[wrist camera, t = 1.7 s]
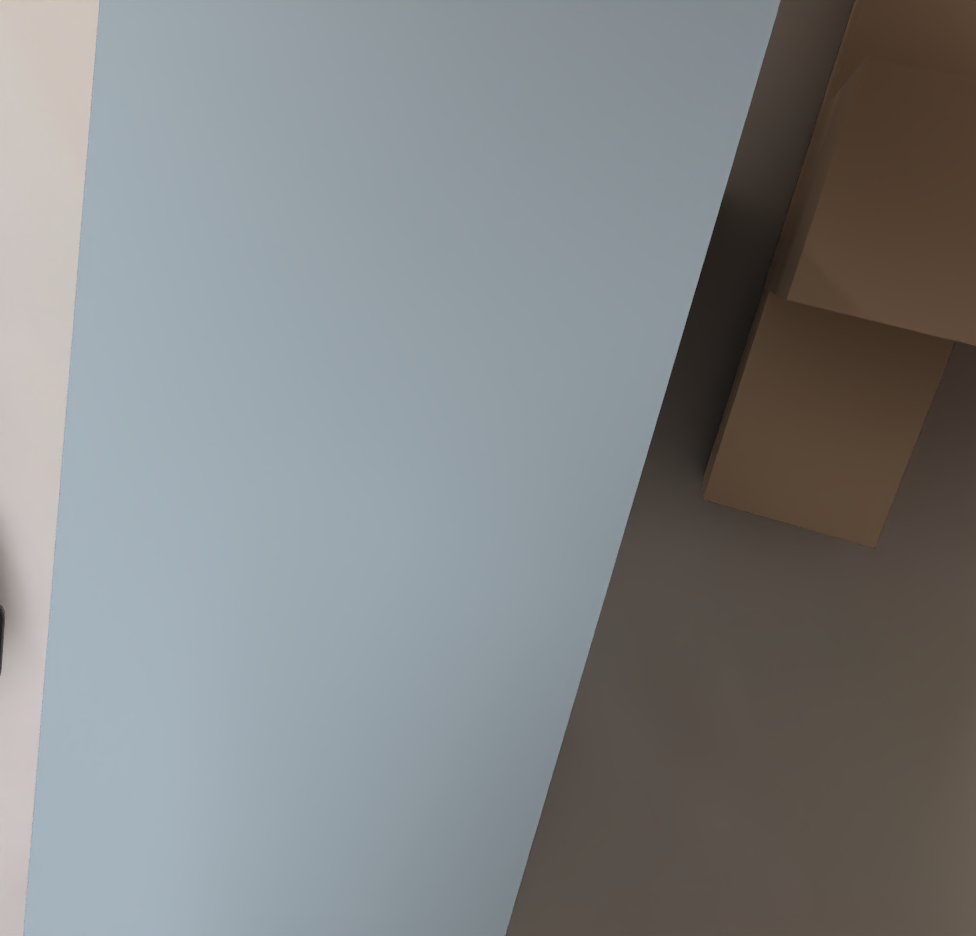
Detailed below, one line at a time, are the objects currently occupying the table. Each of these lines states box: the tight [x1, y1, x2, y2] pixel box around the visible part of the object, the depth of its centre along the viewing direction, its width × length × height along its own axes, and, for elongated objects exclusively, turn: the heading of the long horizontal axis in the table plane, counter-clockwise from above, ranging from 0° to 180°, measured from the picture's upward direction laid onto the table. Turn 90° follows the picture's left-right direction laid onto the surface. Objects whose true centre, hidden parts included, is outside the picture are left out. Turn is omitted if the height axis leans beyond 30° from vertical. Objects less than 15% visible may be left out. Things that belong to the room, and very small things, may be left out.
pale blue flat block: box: [23, 0, 781, 936], centre depth 8 cm, size 12×2×8 cm, turn 167°
